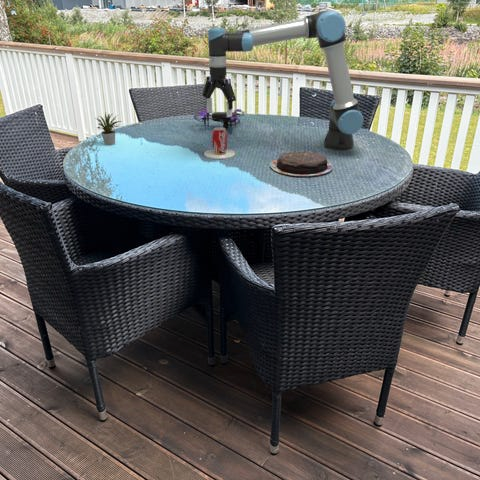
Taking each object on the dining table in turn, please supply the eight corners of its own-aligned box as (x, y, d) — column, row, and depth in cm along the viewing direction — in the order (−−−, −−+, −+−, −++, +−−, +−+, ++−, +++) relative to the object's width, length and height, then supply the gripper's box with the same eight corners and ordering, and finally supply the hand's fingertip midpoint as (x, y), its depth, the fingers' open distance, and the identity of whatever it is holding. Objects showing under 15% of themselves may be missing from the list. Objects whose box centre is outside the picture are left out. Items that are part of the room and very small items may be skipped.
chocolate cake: (259, 163, 213) (259, 149, 210) (311, 156, 223) (312, 142, 220) (288, 182, 190) (289, 167, 187) (345, 173, 200) (346, 159, 197)
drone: (237, 121, 245) (186, 119, 248) (237, 139, 249) (187, 137, 253) (246, 106, 280) (201, 105, 283) (246, 122, 285) (201, 120, 288)
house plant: (106, 150, 230) (101, 117, 223) (89, 145, 238) (84, 113, 230) (128, 143, 240) (124, 112, 233) (111, 139, 248) (107, 108, 240)
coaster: (241, 154, 223) (241, 153, 223) (218, 161, 214) (218, 159, 214) (220, 148, 233) (220, 147, 232) (197, 154, 223) (197, 153, 223)
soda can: (216, 155, 219) (215, 130, 213) (210, 152, 224) (209, 127, 219) (229, 154, 221) (229, 129, 216) (223, 150, 227) (223, 126, 222)
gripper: (193, 64, 210) (196, 111, 220) (231, 69, 194) (232, 119, 204) (205, 63, 215) (207, 109, 225) (243, 67, 199) (243, 117, 209)
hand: (219, 114), depth 214 cm, fingers open, 13 cm apart
